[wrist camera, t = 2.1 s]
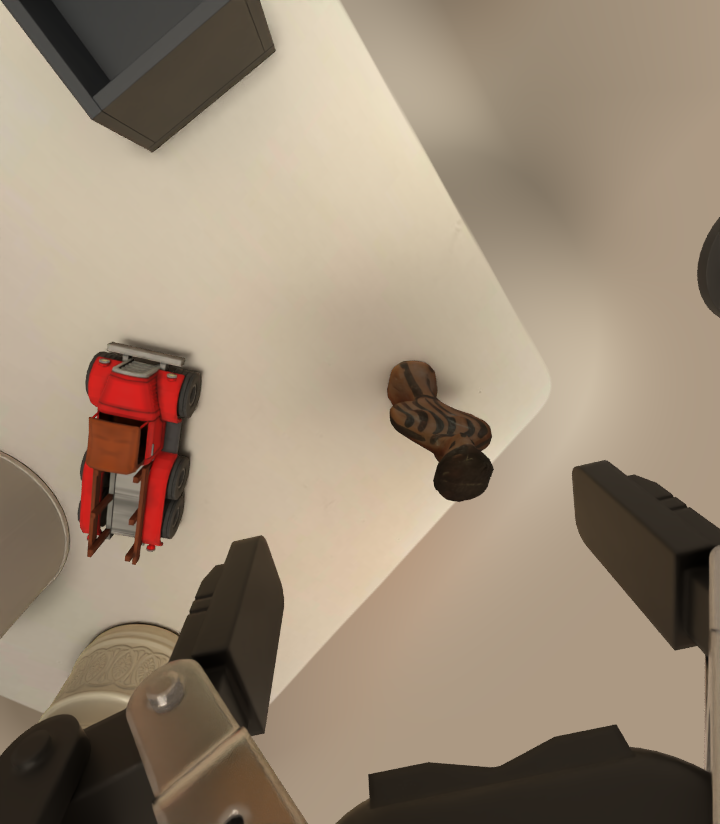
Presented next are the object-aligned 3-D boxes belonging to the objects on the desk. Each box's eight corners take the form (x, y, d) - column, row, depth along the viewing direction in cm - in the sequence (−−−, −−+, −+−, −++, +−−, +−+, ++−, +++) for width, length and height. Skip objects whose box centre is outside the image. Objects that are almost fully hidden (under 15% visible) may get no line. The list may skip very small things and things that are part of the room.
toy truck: (205, 355, 40) (173, 380, 32) (180, 529, 45) (148, 587, 37) (111, 334, 39) (54, 354, 31) (97, 514, 44) (46, 570, 36)
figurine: (463, 369, 41) (552, 451, 24) (449, 420, 43) (523, 532, 26) (383, 354, 40) (416, 429, 23) (372, 407, 42) (395, 513, 25)
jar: (169, 724, 54) (93, 936, 37) (63, 679, 51) (-71, 888, 34) (225, 652, 51) (169, 849, 34) (116, 601, 48) (-4, 788, 31)
